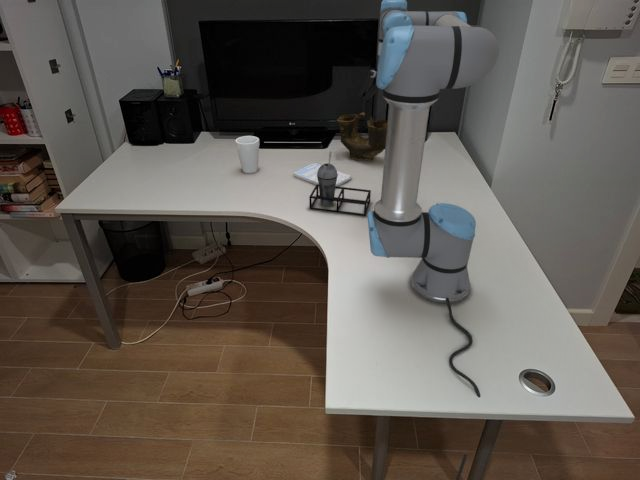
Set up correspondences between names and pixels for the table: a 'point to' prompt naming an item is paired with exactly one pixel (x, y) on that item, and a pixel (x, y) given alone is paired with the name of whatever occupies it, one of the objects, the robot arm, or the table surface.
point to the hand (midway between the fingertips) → (384, 124)
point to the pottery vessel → (359, 144)
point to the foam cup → (248, 153)
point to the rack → (341, 200)
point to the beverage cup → (327, 182)
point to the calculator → (311, 174)
